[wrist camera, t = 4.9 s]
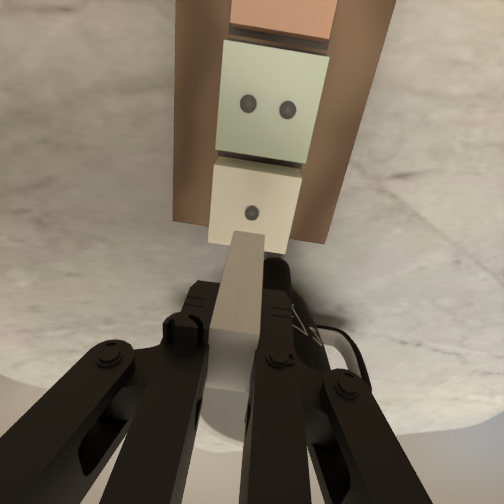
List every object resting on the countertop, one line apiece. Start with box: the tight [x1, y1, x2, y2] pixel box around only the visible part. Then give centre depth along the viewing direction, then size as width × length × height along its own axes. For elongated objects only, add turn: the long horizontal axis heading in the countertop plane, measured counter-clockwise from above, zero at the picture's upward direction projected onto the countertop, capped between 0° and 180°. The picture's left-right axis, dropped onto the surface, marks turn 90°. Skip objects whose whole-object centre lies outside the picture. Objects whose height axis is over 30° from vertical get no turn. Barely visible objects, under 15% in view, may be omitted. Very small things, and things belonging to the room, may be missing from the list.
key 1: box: [208, 156, 302, 254], centre depth 23 cm, size 6×6×3 cm
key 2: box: [215, 40, 330, 164], centre depth 20 cm, size 6×6×3 cm
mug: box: [160, 258, 372, 446], centre depth 31 cm, size 16×16×12 cm
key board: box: [173, 0, 396, 244], centre depth 24 cm, size 14×22×2 cm, turn 172°
